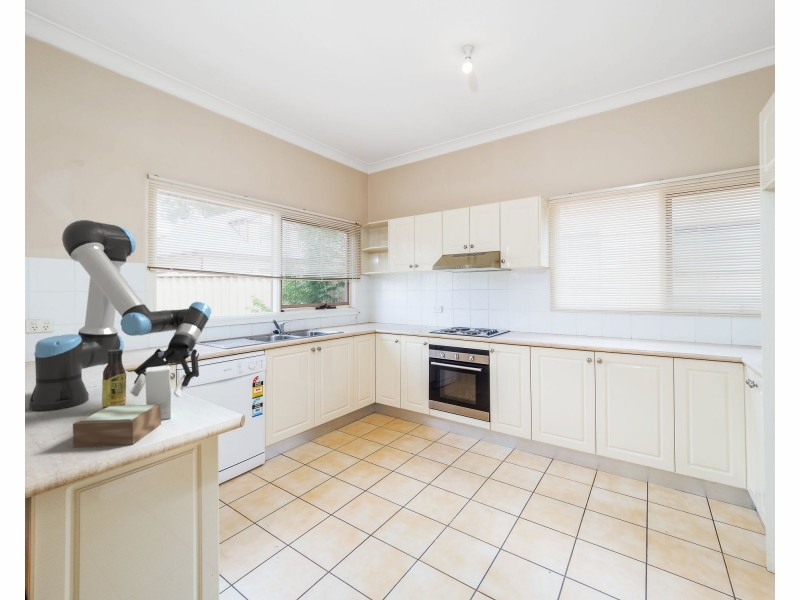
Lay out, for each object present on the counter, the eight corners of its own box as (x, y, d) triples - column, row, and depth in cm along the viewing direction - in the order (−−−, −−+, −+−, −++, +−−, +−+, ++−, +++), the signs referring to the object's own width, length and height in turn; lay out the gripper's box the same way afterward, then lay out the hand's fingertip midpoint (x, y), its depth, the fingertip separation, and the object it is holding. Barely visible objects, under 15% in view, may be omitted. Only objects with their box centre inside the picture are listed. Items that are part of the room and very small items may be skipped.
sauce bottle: (112, 413, 117) (111, 352, 117) (97, 411, 119) (95, 351, 118) (131, 406, 124) (130, 349, 123) (116, 405, 125) (115, 348, 124)
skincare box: (171, 419, 113) (170, 369, 112) (145, 423, 109) (144, 371, 109) (171, 411, 120) (170, 364, 119) (146, 414, 116) (146, 366, 116)
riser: (109, 426, 106) (109, 404, 106) (160, 424, 108) (160, 403, 108) (73, 447, 92) (72, 422, 92) (133, 444, 94) (132, 420, 94)
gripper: (223, 346, 129) (199, 401, 115) (155, 345, 130) (122, 399, 116) (215, 333, 124) (188, 389, 109) (144, 332, 125) (108, 387, 110)
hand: (154, 394), depth 113 cm, fingers open, 13 cm apart
